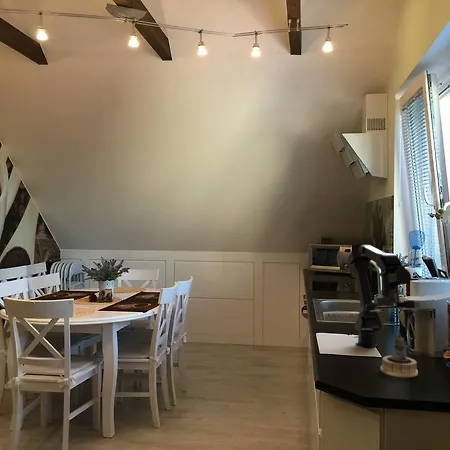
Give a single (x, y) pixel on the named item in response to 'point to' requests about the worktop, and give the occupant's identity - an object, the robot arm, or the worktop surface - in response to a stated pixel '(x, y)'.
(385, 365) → the beige round ring
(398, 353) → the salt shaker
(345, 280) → the worktop surface
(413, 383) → the worktop surface
